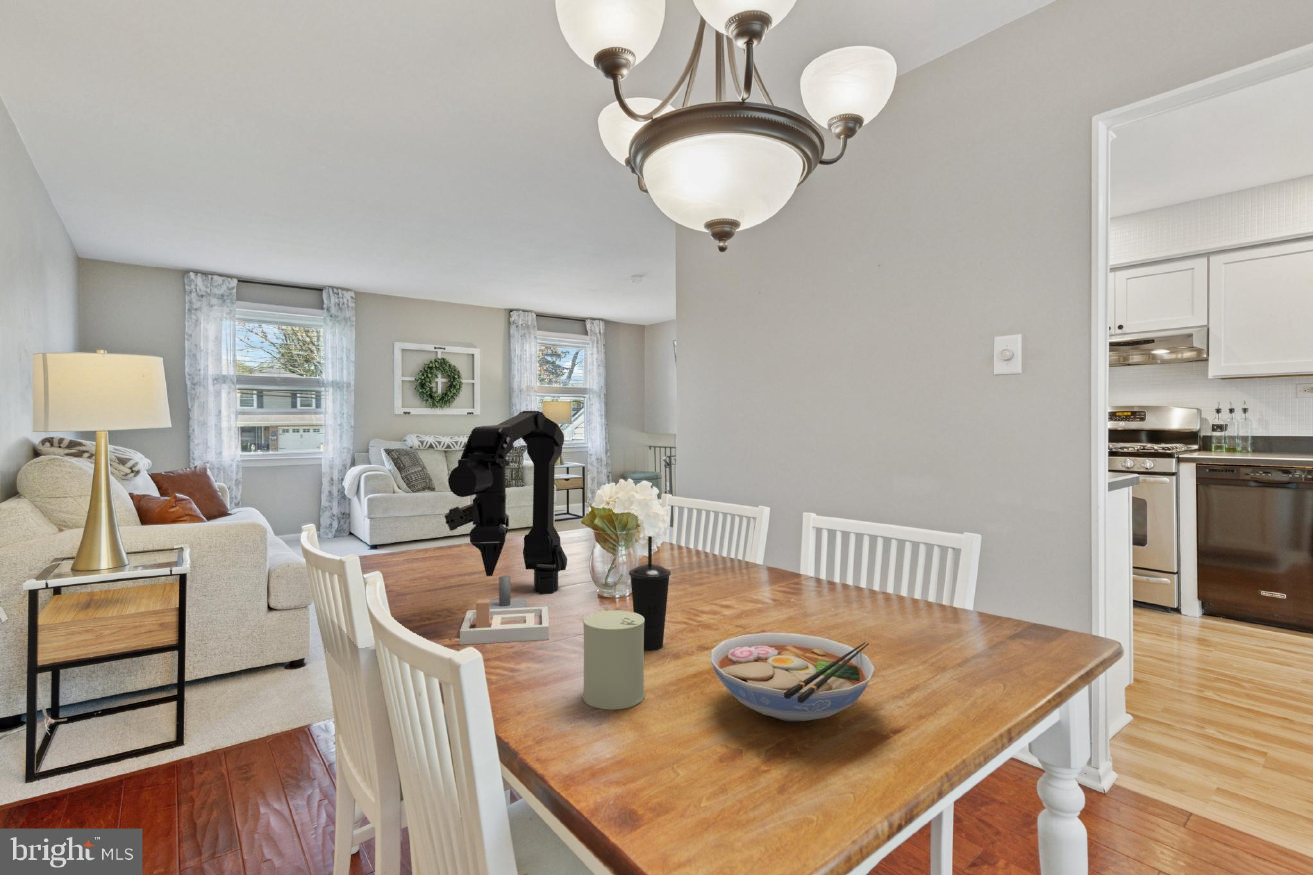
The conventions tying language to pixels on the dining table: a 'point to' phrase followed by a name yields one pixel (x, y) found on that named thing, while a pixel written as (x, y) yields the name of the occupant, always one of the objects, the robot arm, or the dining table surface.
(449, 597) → the dining table surface
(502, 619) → the ring
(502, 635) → the tray
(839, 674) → the ramen bowl
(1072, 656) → the dining table surface
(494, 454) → the robot arm
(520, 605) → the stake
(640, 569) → the drinking cup
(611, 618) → the can
